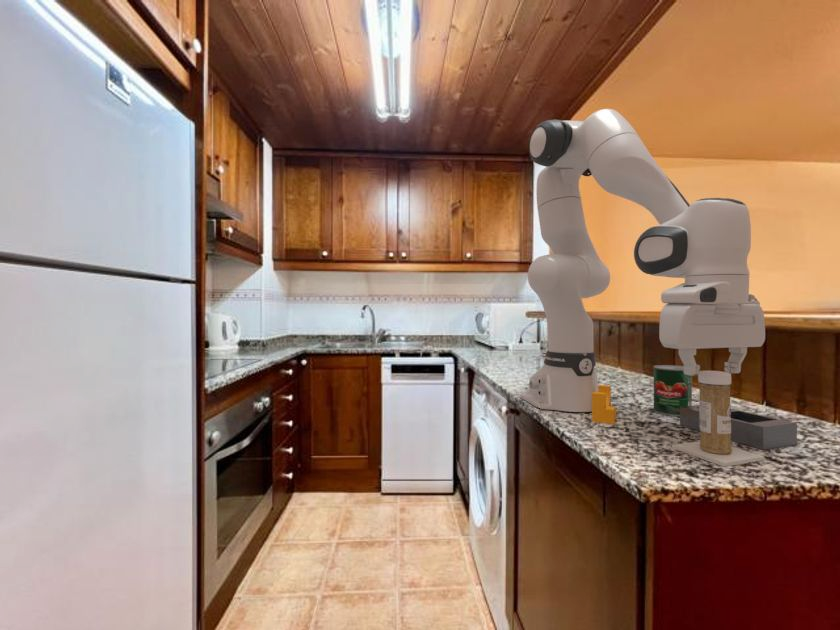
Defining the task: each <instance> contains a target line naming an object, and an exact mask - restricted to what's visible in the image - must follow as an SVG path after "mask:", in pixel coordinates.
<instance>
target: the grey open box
mask: <svg viewBox="0 0 840 630" xmlns="http://www.w3.org/2000/svg"><path fill="white" fill-rule="evenodd" d="M679 426H681V427H684V428H687V429H690V430H695V431H698V432H700V419H699V404H695V405H693V404H692V406H683V407H680V417H679ZM731 442H735V443H739V444H741V445H742V444H743V445H745V446H749V447H753V448H756V449H759V450H762V451H764V450H771V449H777V448H785V447H790V446H791V447H792V446H797V445H798V424H797V422H795V421H790V420H786V419H785V420H784V419H782V418H781V419H780V418H777V417H776V418H775V417H771V416H767V415H763V414H757V413H754V412H748V411H744V410H739V409H735V408H731Z"/></svg>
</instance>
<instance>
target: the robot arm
mask: <svg viewBox="0 0 840 630" xmlns="http://www.w3.org/2000/svg"><path fill="white" fill-rule="evenodd" d="M528 153H529V156H530V159H531V160H532V161H533V162H534V164H537V165H539V166H542V167H544V168H543V169H542V170H540V172H539V174H538V175H537V178H536V191H535V192H536V206H537V214H538V222H539V227H540V229H539V230H540V235H541V238H542V240H543V241H544V243H545V244H546V245H547V246H548V247H549V248H550V250H551V251H552V253H551V254H550V253H549V254H544V255H541V256H538V257H536V258H535V259H534V260H533V261H532V262H531V264H530V266H529V268H528V270H527V271H528V272H527V281H528V285H529V286H530V288H531V290H532V291H533V292H534V293H535V294H536V295H537V297H538V298H539V300H540V303H541V305H542V307H543V311H544V315H545V317H546V319H545V320H546V325H547V351H546V352H542V358H544V360H543V365H542V366H541V367H540V368H539V369H538V370H537V371H536V372H535V373H534V374H533V375H531V376H530V377H529V383H528V391H527V392H523V393H520V396H519V398H521V399H522V400H524V401H525V402H527V403H529V404H530V405H532V406H534V407H536V408H537V407H538V408H537V409H539V408H540V410H550V411H551V410H553V411H560V412H561V411H562V412H570V413H571V412H573V413H589V412H590V413H592V393H593V392H598V386H599V381H598V374H597V372H596V371H595V367H596V366H597V364H596V361H597V357H596V352H595V351H594V349H595V348H594V347H595V346H594V322H593V319H592V318H591V316H590V315H588V313H587V311H586V309H585V306H584V303H583V299H588V298H592V297H595V296H598V295H601V294H602V293H604V292H605V291H606V290H607V289H608V287H609V285H610V283H611V272H610V269H609V268H608V266H607V265H606V264H605V263H604V262H603V261H602V260H601V259H600V257H599V255H598V252H597V251H596V248H595V246H594V244H593V242H592V240H591V237H590V235H589V233H588V229H587V225H586V219H585V215H584V209H583V203H582V196H581V192H580V185H579V184H580V179H581V177H582V176H584V177H590V176H592V177H593V178H594V180H595V182H596V183H597V184H598V185H599V186H600V188H602V189H603V190H604V191H605V192H607V193H608V194H611V195H614V196H617V197H620V198H622V199H626V200H628V201H631V202H633V203H636V204H638V206H641V207H643V208H645V209H646V210H647V211H649V212H650V214H652V216H653V217H654V218H655V220H656V221H657V223H658V224H659V225H656V226H652V227H649V228H648V229H646V230H645V231H643V232H642V234H640V236H639V237H638V239H637V240H636V242H635V245H634V248H633V258H634V262H635V264H636V266H637V268H638V269H639V270H640V271H641V272H643V273H644V274H647V275H650V276H655V277H664V278H671V279H672V278H677V279H684V282H682V283H680V284H678V285H676V286H673V287H671V288H668V289H665V290H663V291H662V292H661V295H660V298H661V299H660V300H661V302H662V304H665V305H663V306H662V308H661V311H660V315H659V329H658V330H659V332H658V335H659V342H660V343H661V345H662V347H664V348H668V349H669V348H670V349H676V350H677V349H678V356H679V359H680V360H681V362H682V364H683V366H684V374H685V375H690V376H692V377H693V376H698V375H699V374H700V371H701V364H697V362H696V359H695V357H694V356H696V355H697V349H699V350H700V349H724V348H725V349H726V348H728V352H729V353H730V355H729V357H728V360H727V361H724V364H723V365H724V368H723V370H724V372H728V373H730V374H740V373H741V371H742V370H741V369H742V363H743V361H745V360H744V359H745V358H746V355H747V354H748V348H757V347H758V348H759V347H762V346H763V345H764V343H765V341H766V325H765V323H766V322H765V314H764V310H763V308H762V306H761V304H760V301H759V300H758V299H757V298H756V296H755V295H754V294H750V293H749V292H750V270H749V267H748V257H749V255H750V254H749V253H750V251H751V249H752V247H751V246H752V245H751V244H752V233H751V232H752V229H751V228H752V226H751V225H752V224H751V215H750V212H749V211H750V210H749V209H748V206H747V204H746V203H744V202H743V201H741V200H737V199H735V198H734V199H733V198H727V197H726V198H723V197H722V198H721V197H707V198H700V199H697V200H695V201H693V202H691V204H690V203H689V202H688V200H686V198H685V197H684V195H683V194H682V193H681V191H680V190H679V188H678V187H677V186H676V185H675V183H673V182H672V180H670V178H669V177H668V176H667V174H666V173H665V172H664V171H663V169H662V168H661V167H660V165H659V163H657V162H656V159H654V157H653V156H652V155H651V153H650V151H649V150H648V148H647V147H646V145H645V144H644V142H643V141H642V139H641V137H640V135H639V134H638V132H637V131H636V130H635V128H634V127H633V126H632V124H631V123H630V122H629V121H628V120H627V119H626V118H625V117H624V116H623V115H622V114H621V113H619V112H618V111H617V110H616V109H611V108H603V109H602V108H601V109H598V110H596V111H594V112H593V113H591V114H590V115H589V116H587V118H585V120H580V119H577V120H569V119H568V120H560V119H547V120H544V121H541V122H540V123H539V124H538V125H536V127H535V128H534V129H533V131H532V133H531V134H530V137H529V142H528Z"/></svg>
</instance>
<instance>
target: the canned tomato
mask: <svg viewBox="0 0 840 630" xmlns="http://www.w3.org/2000/svg"><path fill="white" fill-rule="evenodd" d="M692 384H693V376H690V375H685V374H684V365H674V364H671V365H670V364H661V365H660V364H657V365H653V412H654V413H655V414H659V415H662V414H663V416H668V415H669V417H677V416H680V407H683V406H693V402H692V401H693V393H692V392H693V385H692Z"/></svg>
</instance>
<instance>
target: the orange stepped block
mask: <svg viewBox="0 0 840 630" xmlns="http://www.w3.org/2000/svg"><path fill="white" fill-rule="evenodd" d="M611 388H612V386H611V385H609V384H608V385H606V384H604V385H603V384H598V392H593V393H592V411H591V421H593V423H601V424H609V425H614V424H615V422H616V420H617V418H616V417H617V407H616V406H612V402H611V401H612V400H611V399H612V397H611V396H612V392H611V390H612V389H611Z"/></svg>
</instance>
